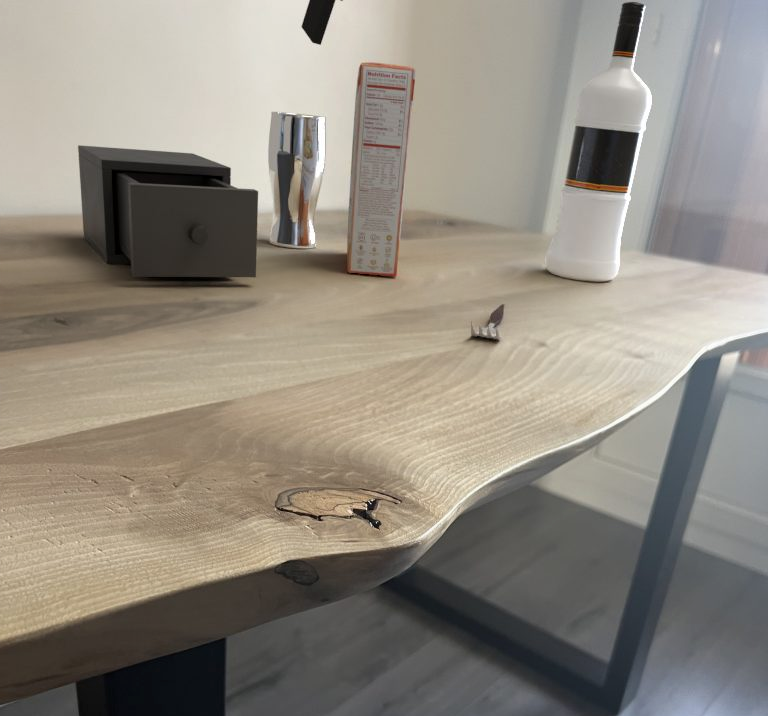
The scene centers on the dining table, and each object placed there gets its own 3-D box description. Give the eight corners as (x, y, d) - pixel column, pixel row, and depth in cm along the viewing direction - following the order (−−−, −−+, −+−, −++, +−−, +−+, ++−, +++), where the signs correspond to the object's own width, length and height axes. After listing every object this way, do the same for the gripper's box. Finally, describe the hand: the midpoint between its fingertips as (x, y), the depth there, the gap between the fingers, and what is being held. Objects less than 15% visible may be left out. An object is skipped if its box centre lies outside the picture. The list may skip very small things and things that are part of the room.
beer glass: (315, 241, 108) (323, 116, 101) (323, 250, 102) (332, 118, 95) (263, 237, 106) (266, 110, 100) (267, 247, 100) (272, 112, 94)
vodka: (534, 273, 103) (583, -7, 89) (554, 264, 110) (603, 6, 97) (606, 286, 99) (669, -2, 86) (622, 276, 107) (682, 10, 93)
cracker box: (343, 252, 103) (357, 63, 93) (391, 256, 103) (409, 69, 94) (343, 273, 90) (358, 58, 81) (397, 278, 91) (419, 65, 81)
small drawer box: (229, 265, 88) (230, 167, 84) (106, 263, 83) (101, 159, 78) (193, 240, 100) (193, 153, 95) (83, 237, 94) (77, 145, 90)
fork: (515, 311, 81) (519, 291, 81) (496, 350, 67) (500, 326, 67) (490, 308, 82) (493, 287, 81) (465, 345, 68) (468, 321, 67)
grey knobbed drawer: (260, 280, 78) (262, 192, 75) (136, 279, 73) (133, 186, 70) (216, 250, 90) (216, 173, 86) (107, 248, 85) (102, 166, 81)
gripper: (133, -463, 40) (76, -9, 55) (511, -243, 54) (386, 74, 68) (100, -488, 44) (55, -57, 58) (461, -277, 58) (353, 31, 72)
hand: (233, 14), depth 63 cm, fingers open, 13 cm apart
